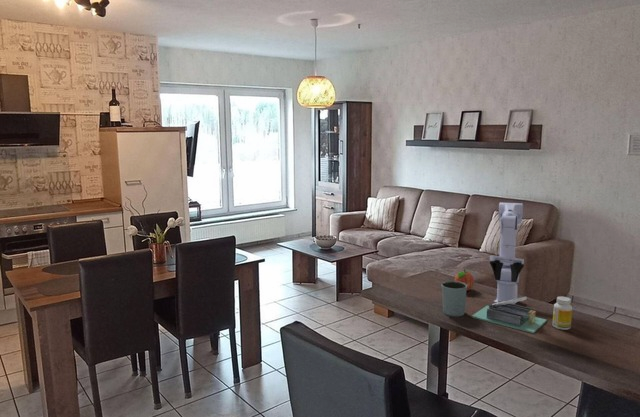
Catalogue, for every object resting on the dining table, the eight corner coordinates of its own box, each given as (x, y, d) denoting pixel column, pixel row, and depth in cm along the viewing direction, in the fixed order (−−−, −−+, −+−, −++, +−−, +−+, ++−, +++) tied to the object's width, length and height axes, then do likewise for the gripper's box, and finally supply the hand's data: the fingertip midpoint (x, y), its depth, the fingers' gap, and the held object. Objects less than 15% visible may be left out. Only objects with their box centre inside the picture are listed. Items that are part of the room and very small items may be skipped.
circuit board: (487, 306, 205) (487, 305, 205) (546, 321, 190) (546, 319, 190) (471, 317, 194) (471, 315, 194) (533, 333, 179) (533, 331, 178)
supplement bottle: (548, 325, 186) (550, 297, 184) (559, 322, 188) (562, 294, 186) (563, 331, 180) (565, 302, 178) (574, 328, 183) (576, 299, 181)
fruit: (449, 288, 229) (450, 268, 227) (465, 285, 233) (465, 265, 231) (462, 294, 221) (463, 273, 219) (478, 290, 225) (479, 270, 224)
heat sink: (496, 309, 201) (497, 298, 200) (538, 319, 190) (539, 307, 189) (484, 317, 192) (485, 306, 191) (528, 328, 181) (528, 316, 180)
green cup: (467, 318, 194) (468, 289, 192) (441, 316, 196) (441, 288, 194) (464, 308, 204) (465, 281, 202) (440, 307, 206) (440, 280, 204)
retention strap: (490, 307, 195) (490, 305, 195) (493, 305, 197) (492, 303, 197) (524, 300, 185) (524, 298, 185) (527, 298, 187) (526, 296, 187)
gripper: (498, 244, 183) (496, 280, 182) (530, 248, 187) (528, 283, 186) (487, 244, 190) (484, 279, 188) (517, 248, 194) (515, 282, 193)
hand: (505, 281), depth 187 cm, fingers open, 7 cm apart
